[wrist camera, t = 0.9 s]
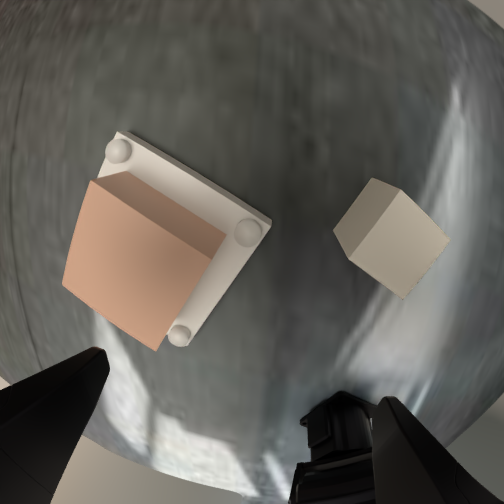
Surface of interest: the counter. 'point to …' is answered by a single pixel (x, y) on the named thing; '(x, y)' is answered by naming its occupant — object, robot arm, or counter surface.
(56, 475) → the robot arm
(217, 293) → the base plate
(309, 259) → the counter surface
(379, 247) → the cream brick
